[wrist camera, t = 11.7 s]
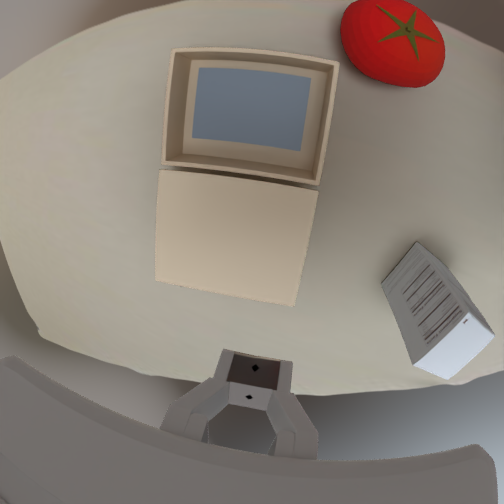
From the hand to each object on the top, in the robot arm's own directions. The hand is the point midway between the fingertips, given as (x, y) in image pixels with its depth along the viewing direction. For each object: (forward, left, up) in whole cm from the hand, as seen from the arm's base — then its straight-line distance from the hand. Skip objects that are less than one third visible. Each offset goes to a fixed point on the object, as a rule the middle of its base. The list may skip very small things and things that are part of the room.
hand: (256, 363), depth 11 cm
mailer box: (+5, -10, -28) cm, 30 cm away
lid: (+5, +5, -20) cm, 22 cm away
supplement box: (-24, +9, -28) cm, 38 cm away
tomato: (-10, -22, -28) cm, 37 cm away
